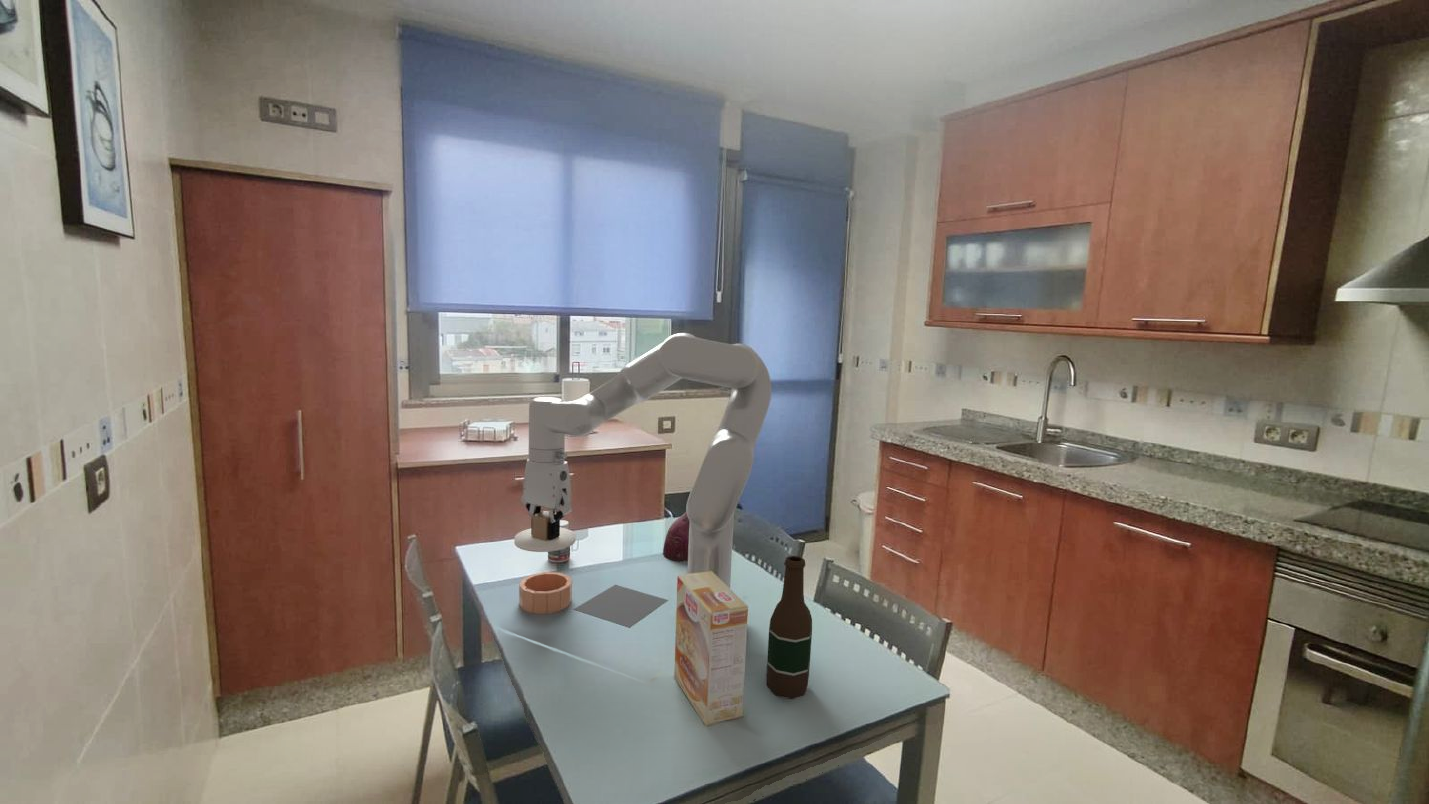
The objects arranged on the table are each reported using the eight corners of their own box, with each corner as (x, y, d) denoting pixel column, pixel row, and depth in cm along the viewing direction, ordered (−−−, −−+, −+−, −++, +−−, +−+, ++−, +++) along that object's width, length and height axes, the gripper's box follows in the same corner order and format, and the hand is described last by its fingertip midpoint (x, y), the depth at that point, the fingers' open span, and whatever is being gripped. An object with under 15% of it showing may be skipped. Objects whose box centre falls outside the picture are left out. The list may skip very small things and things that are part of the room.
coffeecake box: (672, 676, 113) (676, 574, 110) (708, 669, 115) (712, 569, 113) (704, 727, 99) (709, 612, 96) (744, 717, 102) (750, 605, 99)
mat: (668, 602, 142) (668, 600, 142) (629, 629, 129) (629, 627, 129) (615, 586, 149) (615, 584, 149) (573, 611, 135) (573, 609, 135)
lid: (587, 538, 139) (588, 512, 138) (546, 556, 128) (547, 528, 127) (543, 526, 145) (544, 502, 144) (501, 543, 134) (501, 516, 133)
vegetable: (703, 564, 173) (720, 515, 171) (682, 571, 164) (700, 519, 162) (674, 546, 178) (691, 498, 176) (652, 552, 169) (669, 502, 167)
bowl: (581, 600, 141) (581, 579, 140) (547, 620, 131) (547, 597, 130) (544, 588, 146) (544, 568, 145) (509, 607, 136) (509, 585, 135)
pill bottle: (564, 564, 160) (564, 527, 159) (543, 561, 162) (544, 525, 160) (573, 556, 166) (574, 520, 165) (553, 553, 167) (554, 518, 166)
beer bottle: (780, 669, 116) (788, 546, 113) (817, 686, 112) (826, 558, 108) (756, 687, 110) (764, 558, 107) (793, 705, 106) (802, 571, 102)
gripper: (588, 457, 133) (586, 539, 136) (530, 446, 141) (529, 523, 143) (564, 463, 127) (563, 549, 129) (505, 452, 134) (504, 533, 137)
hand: (545, 535), depth 136 cm, fingers closed on lid, 4 cm apart
